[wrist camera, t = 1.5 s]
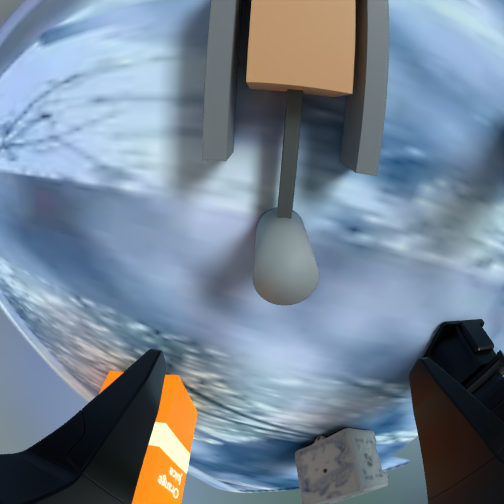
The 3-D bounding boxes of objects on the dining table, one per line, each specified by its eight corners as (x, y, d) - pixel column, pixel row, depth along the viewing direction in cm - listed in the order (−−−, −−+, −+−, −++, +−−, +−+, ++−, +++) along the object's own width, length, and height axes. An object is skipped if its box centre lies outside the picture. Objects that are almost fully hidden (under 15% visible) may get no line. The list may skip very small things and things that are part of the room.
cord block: (313, 254, 20) (329, 307, 15) (241, 249, 20) (233, 302, 15) (337, 13, 12) (367, -23, 7) (255, 3, 12) (251, -40, 7)
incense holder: (328, 454, 36) (334, 509, 27) (292, 445, 34) (294, 508, 25) (379, 430, 33) (392, 490, 23) (346, 419, 30) (357, 490, 21)
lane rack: (357, 163, 17) (376, 176, 14) (213, 151, 17) (202, 160, 14) (367, 3, 12) (387, -15, 8) (224, -14, 12) (215, -37, 9)
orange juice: (109, 369, 28) (49, 520, 10) (178, 374, 27) (134, 558, 9) (135, 407, 31) (96, 538, 13) (198, 413, 30) (173, 563, 13)
